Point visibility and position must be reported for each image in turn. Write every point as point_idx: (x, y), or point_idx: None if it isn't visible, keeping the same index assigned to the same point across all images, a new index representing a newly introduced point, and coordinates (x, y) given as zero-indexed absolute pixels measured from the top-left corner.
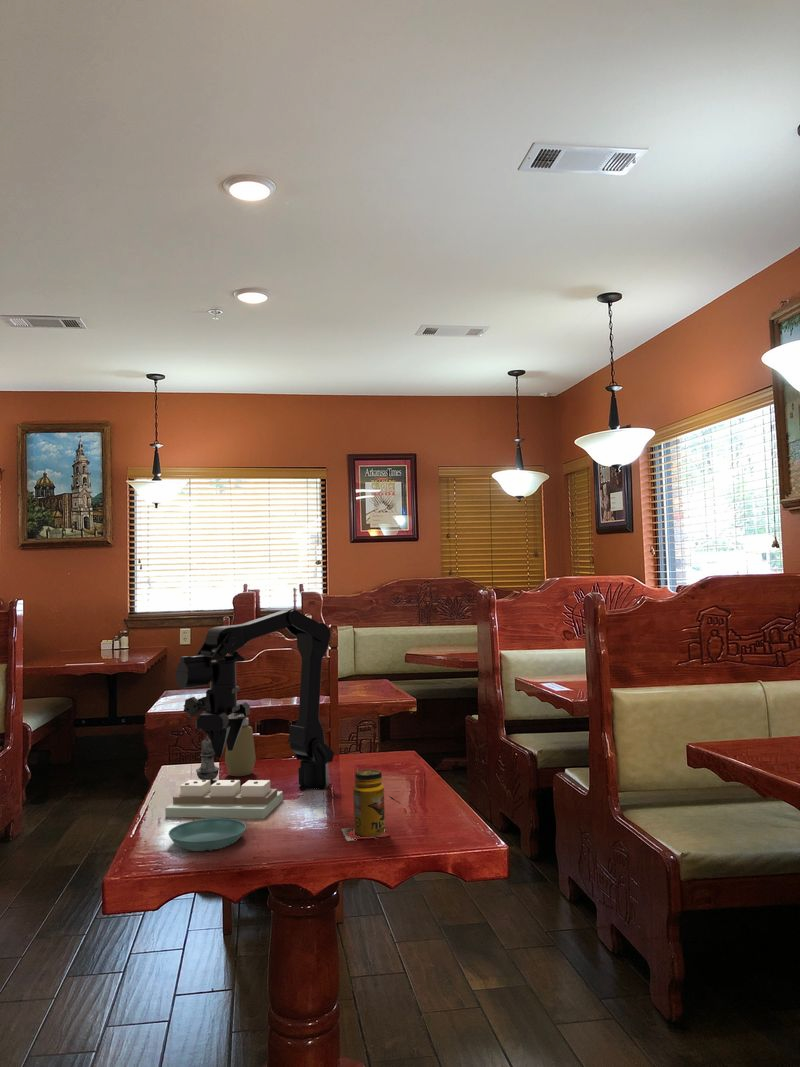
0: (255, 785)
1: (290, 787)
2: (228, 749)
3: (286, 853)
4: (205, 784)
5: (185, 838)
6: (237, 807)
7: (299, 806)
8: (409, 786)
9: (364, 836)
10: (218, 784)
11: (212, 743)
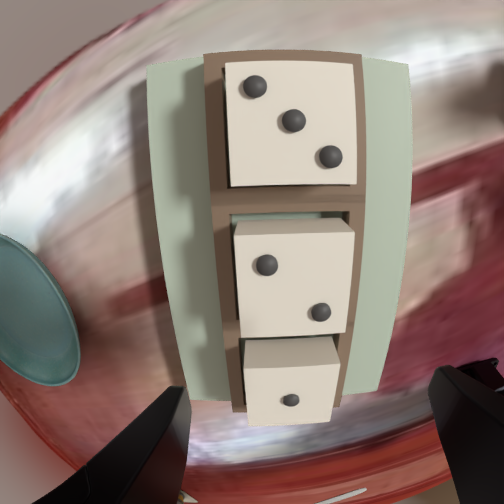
0: (255, 406)
1: (478, 341)
2: (439, 373)
3: (50, 423)
4: (282, 184)
5: (12, 253)
6: (188, 334)
7: None
8: (406, 485)
9: None
10: (257, 269)
11: (89, 468)
